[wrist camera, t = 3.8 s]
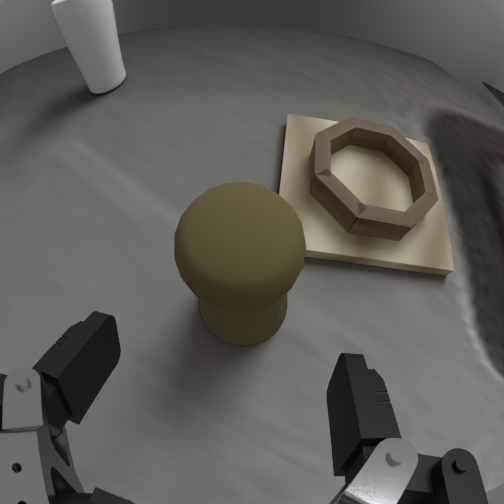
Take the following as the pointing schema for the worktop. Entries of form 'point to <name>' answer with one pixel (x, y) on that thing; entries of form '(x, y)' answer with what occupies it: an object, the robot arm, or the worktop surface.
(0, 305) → the worktop surface
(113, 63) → the drinking glass
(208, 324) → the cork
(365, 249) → the board
